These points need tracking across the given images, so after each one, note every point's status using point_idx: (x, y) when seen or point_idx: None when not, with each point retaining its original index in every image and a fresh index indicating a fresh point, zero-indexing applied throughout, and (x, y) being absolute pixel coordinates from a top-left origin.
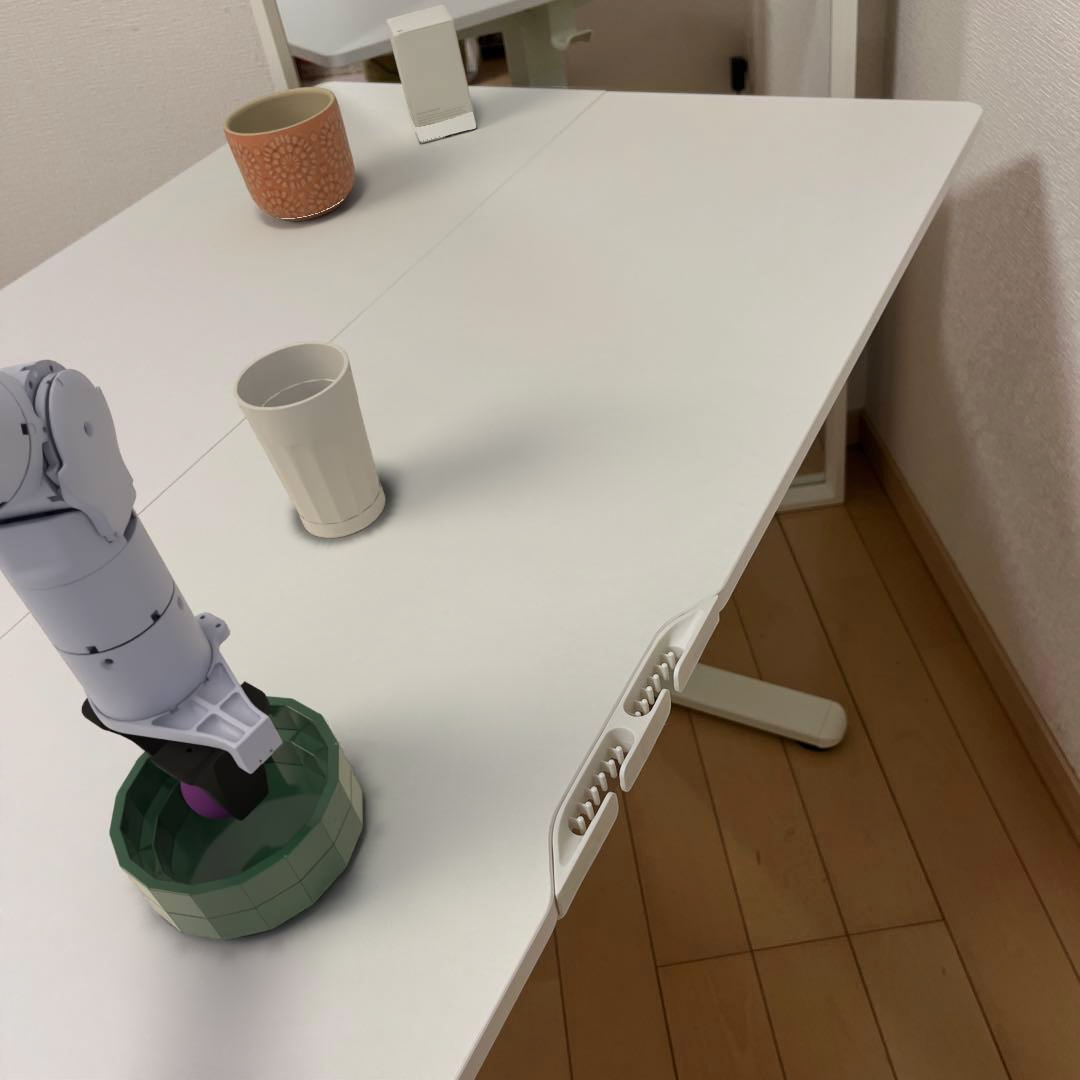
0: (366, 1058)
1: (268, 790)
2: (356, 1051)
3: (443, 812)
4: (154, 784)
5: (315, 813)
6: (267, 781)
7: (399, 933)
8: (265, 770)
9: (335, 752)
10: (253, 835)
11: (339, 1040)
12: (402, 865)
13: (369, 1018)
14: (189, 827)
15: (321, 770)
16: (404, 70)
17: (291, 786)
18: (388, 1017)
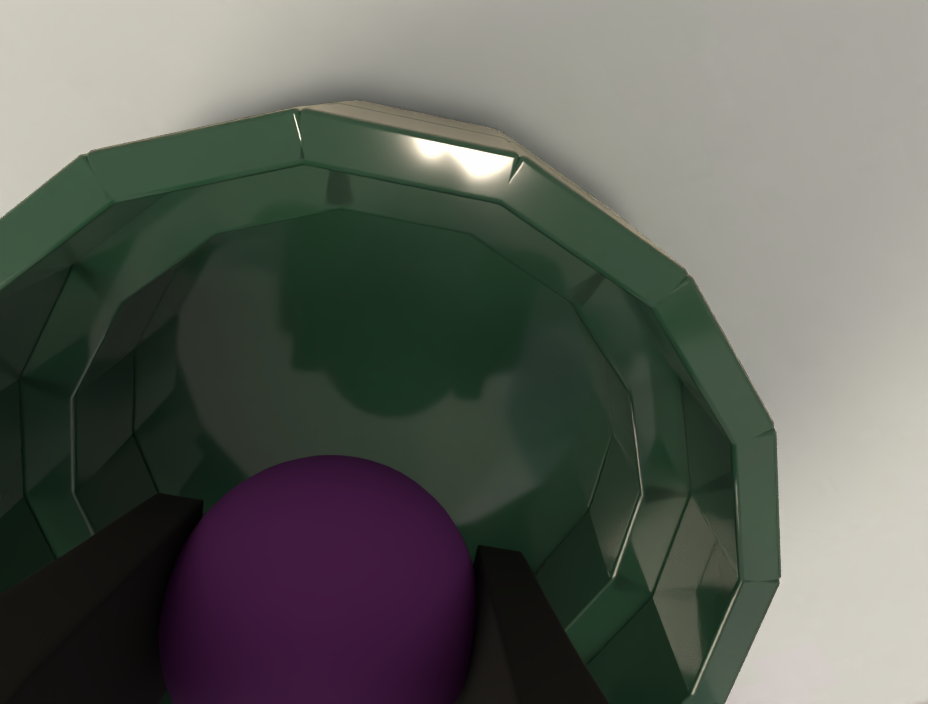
0: (880, 697)
1: (523, 556)
2: (856, 694)
3: (868, 170)
4: (16, 540)
5: (753, 569)
6: (532, 574)
7: (861, 497)
8: (557, 619)
9: (703, 324)
10: (373, 436)
11: (815, 690)
12: (805, 354)
13: (859, 646)
14: (179, 473)
15: (536, 279)
16: None
17: (375, 270)
18: (898, 634)
